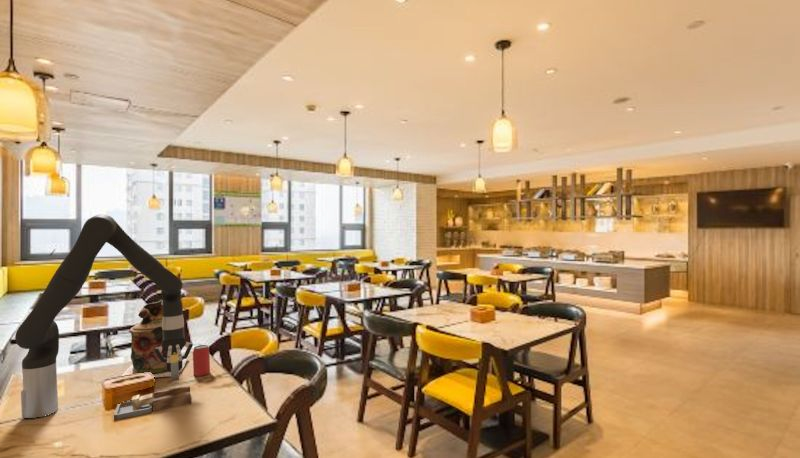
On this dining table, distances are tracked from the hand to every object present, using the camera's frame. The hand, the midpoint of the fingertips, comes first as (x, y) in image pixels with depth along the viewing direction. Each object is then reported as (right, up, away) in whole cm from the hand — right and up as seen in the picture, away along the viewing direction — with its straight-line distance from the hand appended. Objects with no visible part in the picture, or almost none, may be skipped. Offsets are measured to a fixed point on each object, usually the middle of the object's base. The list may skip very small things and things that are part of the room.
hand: (175, 370), depth 166 cm
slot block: (+4, -9, -9) cm, 13 cm away
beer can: (+1, -9, +21) cm, 23 cm away
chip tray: (-7, -9, -15) cm, 18 cm away
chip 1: (-5, -6, -14) cm, 16 cm away
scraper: (0, -3, 0) cm, 3 cm away
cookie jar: (-23, -9, +27) cm, 37 cm away
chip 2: (-3, -7, -13) cm, 15 cm away
